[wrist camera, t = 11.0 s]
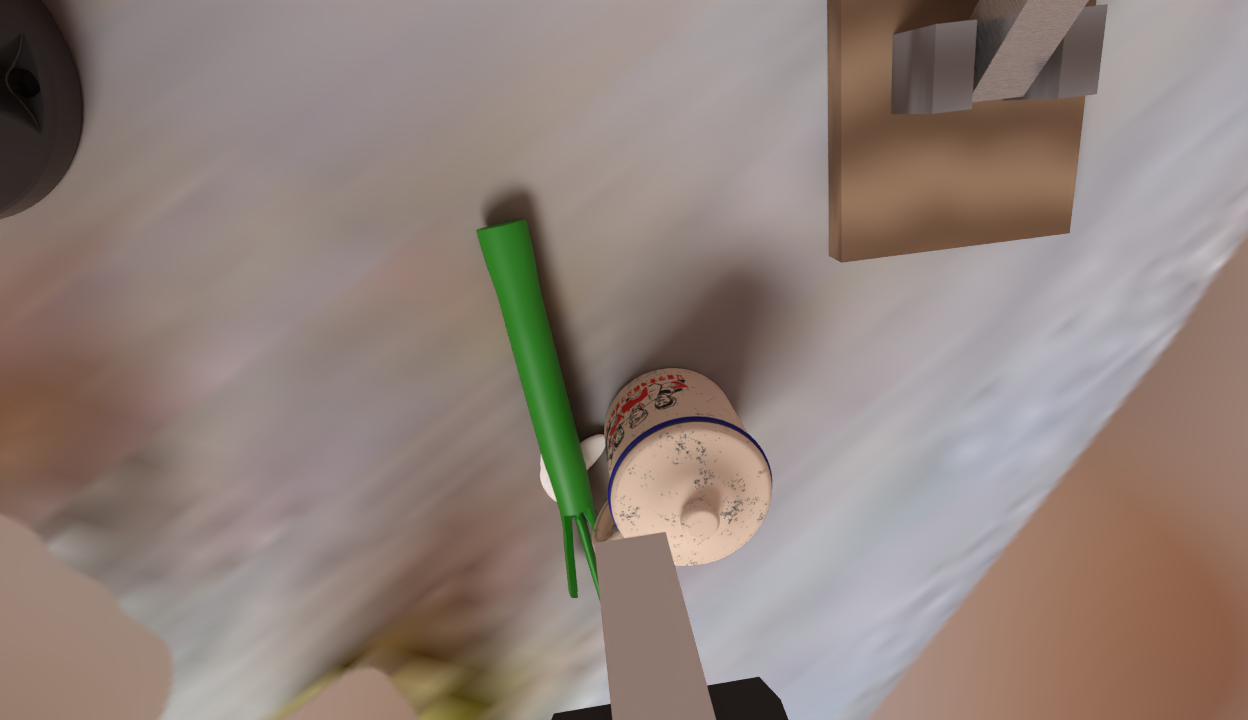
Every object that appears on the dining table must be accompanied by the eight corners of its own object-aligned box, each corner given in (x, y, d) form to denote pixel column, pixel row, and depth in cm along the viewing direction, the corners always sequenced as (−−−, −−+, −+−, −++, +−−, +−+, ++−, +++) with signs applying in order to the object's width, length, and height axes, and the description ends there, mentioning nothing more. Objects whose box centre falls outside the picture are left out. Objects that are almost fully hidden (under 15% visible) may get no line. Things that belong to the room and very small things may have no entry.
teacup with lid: (667, 334, 43) (702, 408, 32) (763, 420, 46) (826, 516, 35) (542, 462, 45) (535, 572, 34) (640, 537, 48) (663, 662, 37)
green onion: (472, 228, 41) (585, 635, 50) (464, 234, 38) (586, 667, 47) (551, 210, 41) (650, 620, 50) (550, 215, 38) (655, 651, 47)
